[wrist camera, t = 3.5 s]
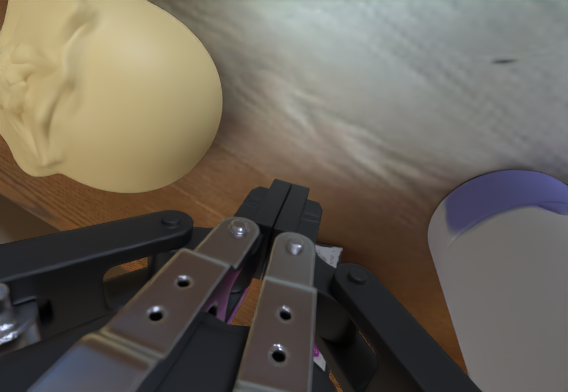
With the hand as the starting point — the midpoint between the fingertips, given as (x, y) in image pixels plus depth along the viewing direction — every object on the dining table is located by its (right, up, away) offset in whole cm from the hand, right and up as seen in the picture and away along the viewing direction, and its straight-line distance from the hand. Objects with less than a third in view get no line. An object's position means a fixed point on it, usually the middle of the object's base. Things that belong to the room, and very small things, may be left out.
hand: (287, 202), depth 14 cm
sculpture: (-9, +9, +11) cm, 17 cm away
